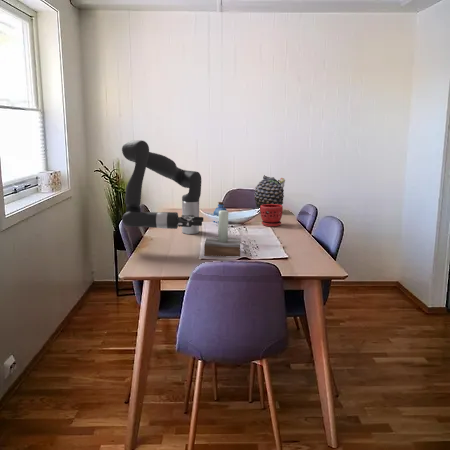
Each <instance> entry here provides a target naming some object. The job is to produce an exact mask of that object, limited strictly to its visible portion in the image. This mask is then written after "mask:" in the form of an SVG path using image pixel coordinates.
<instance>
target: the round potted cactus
mask: <svg viewBox="0 0 450 450" xmlns="http://www.w3.org/2000/svg"><path fill="white" fill-rule="evenodd" d="M285 183H286V179H285V178H283V177H281V178H279V179H278V180H277V179H276V178H275V177H270V176H266V175H265V174H264V175H263V178H262V180H260V181H259V182H258V183H257V185H256V186H255V188H254V194H253V196H254V200H255V202H254V203H255V208H254V209H259V208H260V206H261V205H264V204H278V205H282V206H283V204H284V197H285V195H284V193H285V192H284V187H285ZM267 213H269V212H268V211H267Z"/></svg>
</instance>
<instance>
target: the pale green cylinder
mask: <svg viewBox="0 0 450 450" xmlns="http://www.w3.org/2000/svg"><path fill="white" fill-rule="evenodd" d="M226 210H227V209H226ZM226 210H220V211H219V221H218V223H217V224H218V227H217V228H218V230H217V231H218V232H217V238H218V242H227V241H228V238H229V237H228V236H229V233H228V232H229V210H227V211H226Z"/></svg>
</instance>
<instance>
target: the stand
mask: <svg viewBox="0 0 450 450" xmlns="http://www.w3.org/2000/svg"><path fill="white" fill-rule="evenodd" d="M203 249H204V251H203V252H204V256H205V257H226V256H240V257H241V238H232V237H230V238H229V237H228V241H227V242H218V237H205V240H204V248H203Z"/></svg>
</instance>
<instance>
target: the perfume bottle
mask: <svg viewBox="0 0 450 450" xmlns="http://www.w3.org/2000/svg"><path fill="white" fill-rule="evenodd" d="M217 203H218V204H217V207H216V208H215V209H214V210H213V216H214V215H217V216H219V211H220V210H226V211H228V210H227V208H226V207H224V206H225V205H224V201H218V202H217ZM212 222H213V223H217V222H215V221H212ZM217 224H218V223H217Z"/></svg>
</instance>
